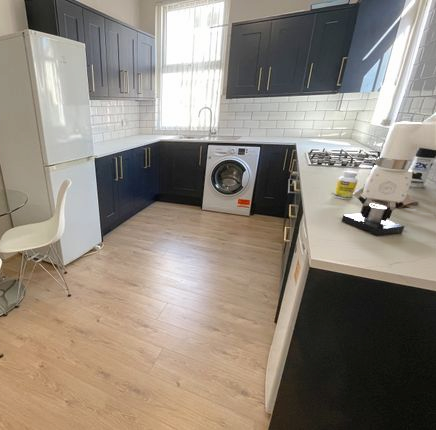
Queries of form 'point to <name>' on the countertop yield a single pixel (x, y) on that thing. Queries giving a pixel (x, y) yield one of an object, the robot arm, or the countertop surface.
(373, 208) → the knob
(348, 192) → the pill bottle
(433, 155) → the spray can
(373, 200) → the button housing
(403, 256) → the countertop surface
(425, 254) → the countertop surface
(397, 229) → the panel
